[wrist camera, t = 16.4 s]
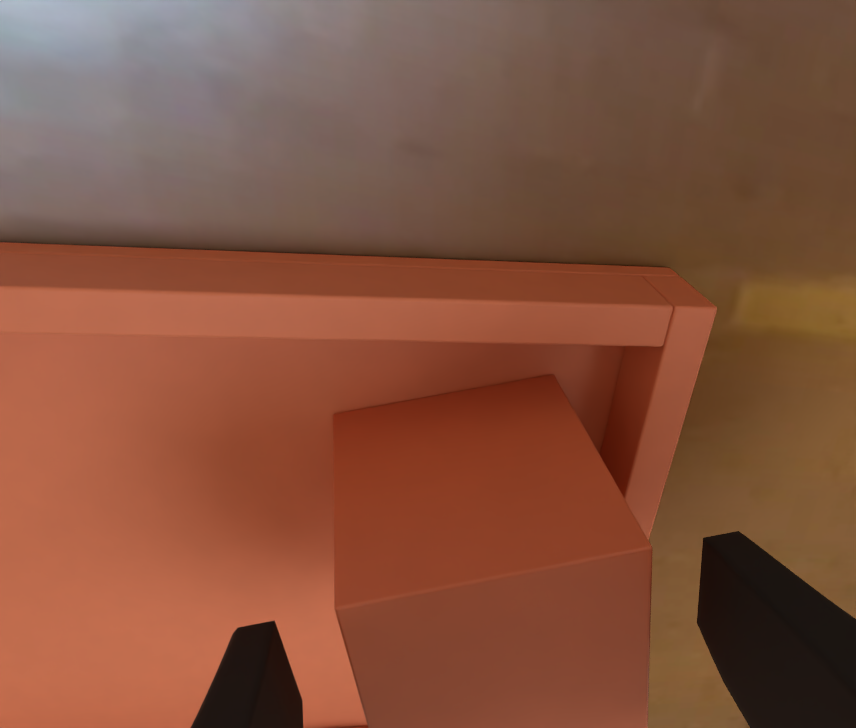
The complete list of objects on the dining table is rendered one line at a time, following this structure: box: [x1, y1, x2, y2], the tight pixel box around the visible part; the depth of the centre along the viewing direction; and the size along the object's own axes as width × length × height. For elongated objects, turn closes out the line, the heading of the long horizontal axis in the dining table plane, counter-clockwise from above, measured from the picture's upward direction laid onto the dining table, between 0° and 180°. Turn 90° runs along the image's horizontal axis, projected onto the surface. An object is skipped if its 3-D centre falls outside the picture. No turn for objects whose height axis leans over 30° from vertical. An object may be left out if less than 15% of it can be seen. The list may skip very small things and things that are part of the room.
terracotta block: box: [333, 375, 652, 728], centre depth 13 cm, size 4×4×5 cm
